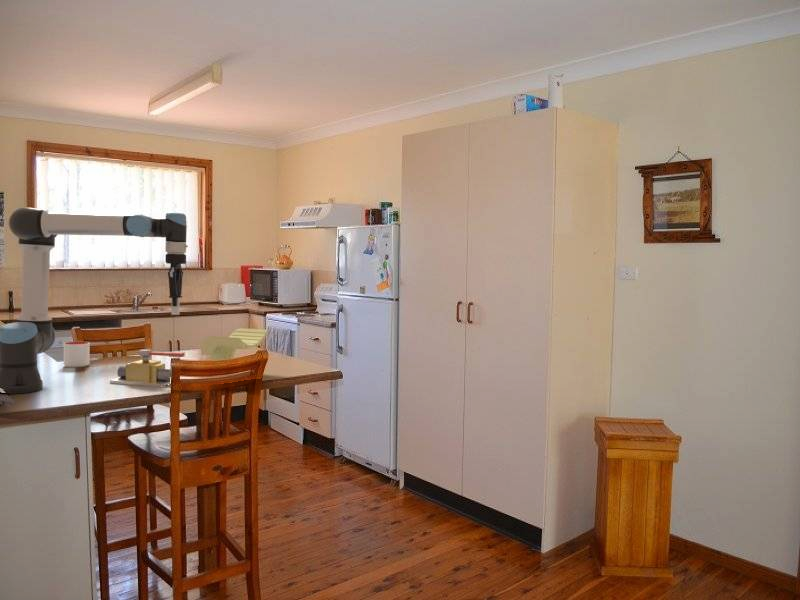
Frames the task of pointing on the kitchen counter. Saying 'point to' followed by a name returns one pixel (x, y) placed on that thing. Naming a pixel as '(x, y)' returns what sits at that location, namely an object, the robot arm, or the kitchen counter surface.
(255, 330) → the slatted curved stool
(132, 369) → the valve
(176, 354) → the lever
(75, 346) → the cup
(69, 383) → the kitchen counter surface
